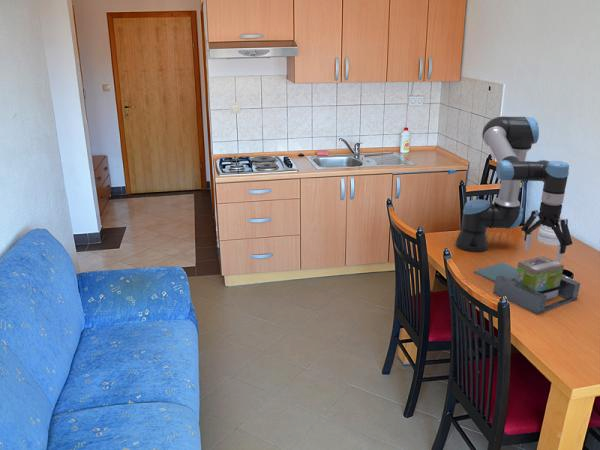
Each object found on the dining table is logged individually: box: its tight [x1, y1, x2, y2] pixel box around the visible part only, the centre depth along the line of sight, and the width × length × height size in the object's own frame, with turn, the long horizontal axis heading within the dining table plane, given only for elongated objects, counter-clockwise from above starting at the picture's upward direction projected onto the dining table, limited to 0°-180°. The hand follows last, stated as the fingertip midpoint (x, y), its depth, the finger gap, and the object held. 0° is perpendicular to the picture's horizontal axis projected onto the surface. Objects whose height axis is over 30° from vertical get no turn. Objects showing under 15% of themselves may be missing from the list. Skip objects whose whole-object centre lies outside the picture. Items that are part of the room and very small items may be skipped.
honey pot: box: [536, 213, 564, 247], centre depth 271 cm, size 13×13×18 cm
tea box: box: [514, 255, 565, 301], centre depth 212 cm, size 15×10×15 cm, turn 117°
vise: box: [492, 274, 581, 315], centre depth 215 cm, size 20×32×7 cm, turn 122°
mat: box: [473, 261, 517, 283], centre depth 234 cm, size 14×19×1 cm
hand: (542, 254), depth 208 cm, fingers open, 13 cm apart
